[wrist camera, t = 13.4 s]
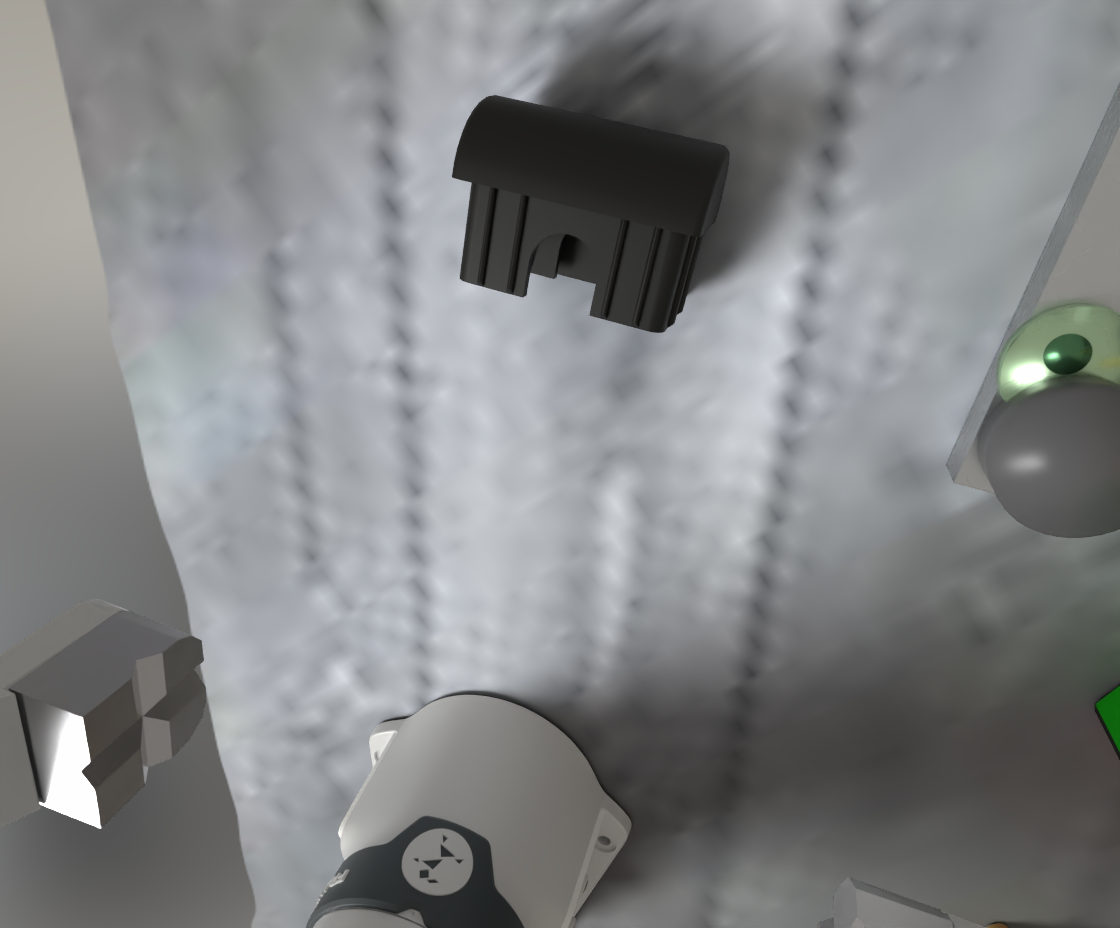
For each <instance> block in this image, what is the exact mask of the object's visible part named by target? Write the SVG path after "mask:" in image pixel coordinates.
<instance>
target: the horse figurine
mask: <svg viewBox="0 0 1120 928" xmlns="http://www.w3.org/2000/svg"><path fill="white" fill-rule="evenodd" d="M987 928H1008V927H1007V926H1006V925H1004V924H1002V923H996V924H991V925H989V926H988V927H987Z"/></svg>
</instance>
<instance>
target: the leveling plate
mask: <svg viewBox="0 0 1120 928" xmlns="http://www.w3.org/2000/svg"><path fill="white" fill-rule="evenodd" d="M1066 376H1091V377H1096V378H1102V379H1105V380H1108V381H1112V382H1114V383H1116V384H1119V385H1120V85H1119V87H1118V89H1117V91H1116V93H1115V95H1114V98H1113V100H1112V102H1111V104H1110V106H1109V109H1108V111H1107V113H1106V115H1105V117H1104V120H1103V122H1102V124H1101V126H1100V128H1099V131H1098V133H1097V135H1096V137H1095V139H1094V142H1093V144H1092V146H1091V148H1090V150H1089V153H1088V155H1087V157H1086V159H1085V161H1084V164H1083V166H1082V168H1081V170H1080V172H1079V174H1078V177H1077V179H1076V181H1075V183H1074V185H1073V188H1072V190H1071V192H1070V194H1069V196H1068V199H1067V201H1066V203H1065V205H1064V207H1063V210H1062V212H1061V214H1060V216H1059V218H1058V221H1057V223H1056V225H1055V227H1054V229H1053V232H1052V234H1051V236H1050V238H1049V240H1048V242H1047V245H1046V247H1045V249H1044V251H1043V253H1042V256H1041V258H1040V260H1039V262H1038V264H1037V267H1036V269H1035V271H1034V273H1033V275H1032V278H1031V280H1030V282H1029V284H1028V286H1027V289H1026V291H1025V293H1024V295H1023V297H1022V300H1021V302H1020V304H1019V306H1018V308H1017V311H1016V313H1015V315H1014V317H1013V319H1012V321H1011V324H1010V326H1009V328H1008V330H1007V332H1006V335H1005V337H1004V339H1003V341H1002V343H1001V346H1000V348H999V350H998V352H997V354H996V357H995V359H994V361H993V363H992V365H991V368H990V370H989V372H988V374H987V376H986V379H985V381H984V383H983V385H982V387H981V390H980V392H979V394H978V396H977V398H976V400H975V403H974V405H973V407H972V409H971V411H970V414H969V416H968V418H967V420H966V422H965V425H964V427H963V429H962V431H961V433H960V436H959V438H958V440H957V442H956V444H955V447H954V449H953V451H952V453H951V455H950V458H949V460H948V462H947V464H946V466H947V468H948V470H949V473H950V475H951V477H952V480H953V482H954V483H956V484H960V485H964V486H968V487H971V488H975V489H979V490H983V491H986V492H990V493H994V494H995V492H994V490H993V488H992V486H991V484H990V482H989V481H988V479H987V477H986V475H985V473H984V471H983V468H982V466H981V463H980V459H979V450H978V448H979V439H980V434H981V431H982V428H983V425H984V423H985V421H986V419H987V418H988V416H989V414H990V413H991V412H992V410H993V409H994V408H995V406H996V405H997V404H998V403H999V402H1000V401H1001V400H1002V399H1004V400H1005V401H1006V402H1007V401H1009V400H1010V399H1011V398H1012V397H1014V396H1015V395H1017V394H1018V393H1020V392H1021V391H1023V390H1025V389H1027V388H1029V387H1031V386H1033V385H1035V384H1038V383H1041V382H1043V381H1047V380H1050V379H1054V378H1060V377H1066Z"/></svg>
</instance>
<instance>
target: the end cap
mask: <svg viewBox="0 0 1120 928" xmlns="http://www.w3.org/2000/svg"><path fill="white" fill-rule="evenodd" d="M728 165H729V151H728V149H727V148H726V147H725V146H723V145H720V144H715V143H711V142H706V141H701V140H697V139H692V138H688V137H683V136H679V135H674V134H670V133H665V132H661V131H656V130H651V129H647V128H642V127H638V126H633V125H629V124H624V123H620V122H615V121H611V120H606V119H601V118H597V117H592V116H588V115H583V114H579V113H574V112H570V111H565V110H561V109H556V108H551V107H547V106H542V105H538V104H533V103H529V102H524V101H520V100H515V99H511V98H506V97H501V96H497V95H493V96H488V97H486V98H485V99H483V100H482V101H481V102H479V104H478V105H477V106H476V107H475V108H474V110H473V111H472V113H471V115H470V117H469V118H468V120H467V122H466V125H465V127H464V130H463V132H462V135H461V138H460V141H459V144H458V148H457V152H456V156H455V161H454V167H453V173H452V177H453V178H456V179H460V180H464V181H468V182H472V185H471V193H470V201H469V208H468V216H467V224H466V232H465V240H464V248H463V256H462V264H461V272H460V279H461V280H462V281H465V282H468V283H471V284H475V285H478V286H482V287H486V288H490V289H493V290H497V291H501V292H504V293H508V294H512V295H516V296H519V297H524V296H526V294H527V288H528V282H529V277H530V273H534V274H538V275H541V276H545V277H549V278H553V279H554V278H556V277H557V274H560V275H563V276H567V277H571V278H575V279H579V280H583V281H586V282H590V283H594V284H596V287H595V292H594V296H593V301H592V306H591V311H590V316H594V317H597V318H601V319H605V320H608V321H612V322H616V323H619V324H623V325H627V326H631V327H634V328H638V329H642V330H645V331H650V332H656V333H661V332H664V331H665V330H666V329H667V328H668V327H670V326H671V325H673V324H674V323H675V320H676V316H677V314H679V313H681V312H682V311H683V307H684V303H685V300H686V296H687V292H688V288H689V285H690V281H691V277H692V274H693V270H694V266H695V262H696V259H697V255H698V251H699V247H700V244H701V240H702V236H703V234H704V233H705V231H706V230H707V229H708V228H709V227H710V226H711V225H712V224H713V223H714V222H715V221H716V217H717V213H718V210H719V206H720V202H721V198H722V194H723V189H724V185H725V181H726V176H727V170H728Z"/></svg>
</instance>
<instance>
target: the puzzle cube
mask: <svg viewBox="0 0 1120 928" xmlns="http://www.w3.org/2000/svg"><path fill="white" fill-rule="evenodd" d="M1095 712H1096V714H1097V716H1098V718H1099V720H1100V722H1101V724H1102V726H1103V728H1104V730H1105V732H1106V734H1107V736H1108V738H1109V740H1110V742H1111V744H1112V746H1113V748H1114V750H1115V752H1116V754H1117V756H1118V758H1119V760H1120V685H1119V686H1118V687H1117V688H1115V689H1114V690H1113V691H1111V692H1110V693H1109V694H1107V695H1106V696H1105V697H1104V698H1102V699H1101V700H1100V701H1098V702H1097V703H1096V704H1095Z"/></svg>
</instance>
